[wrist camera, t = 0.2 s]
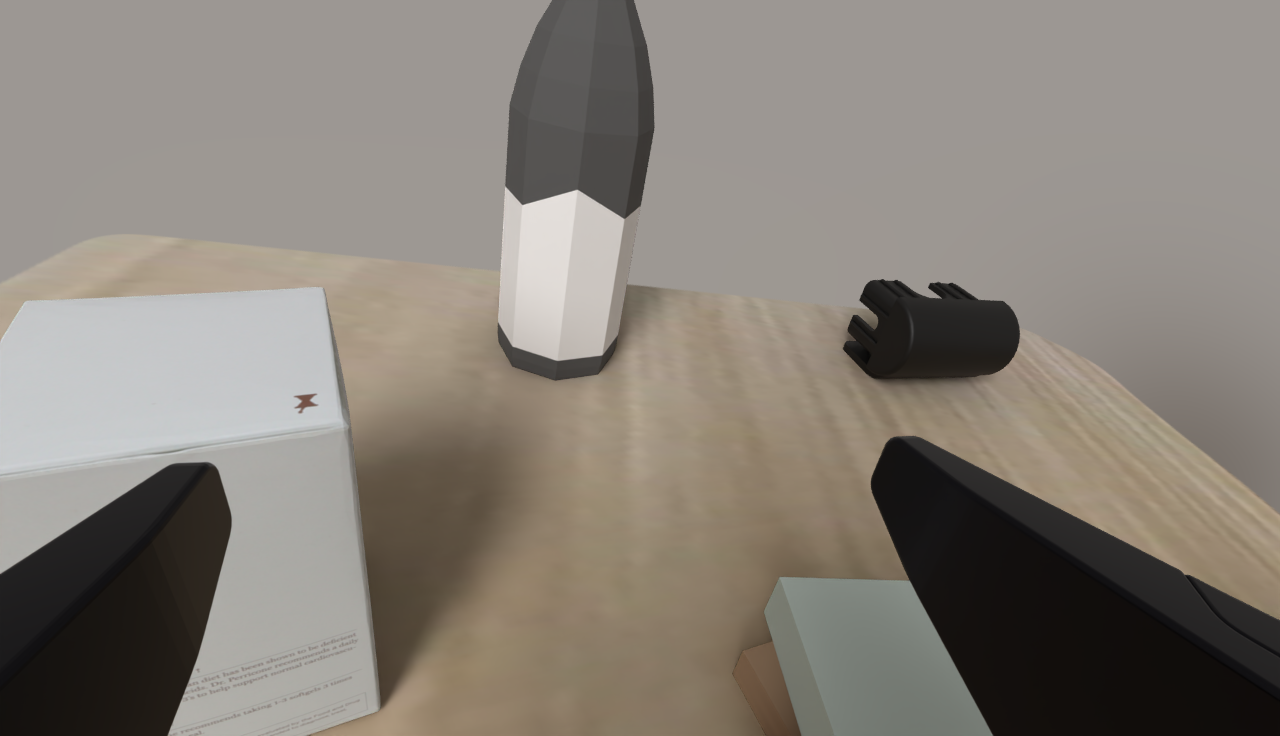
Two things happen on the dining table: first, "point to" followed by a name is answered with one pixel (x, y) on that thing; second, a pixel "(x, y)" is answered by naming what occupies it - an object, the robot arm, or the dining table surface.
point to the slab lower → (766, 690)
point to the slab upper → (866, 661)
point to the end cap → (931, 333)
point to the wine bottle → (574, 186)
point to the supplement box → (248, 466)
